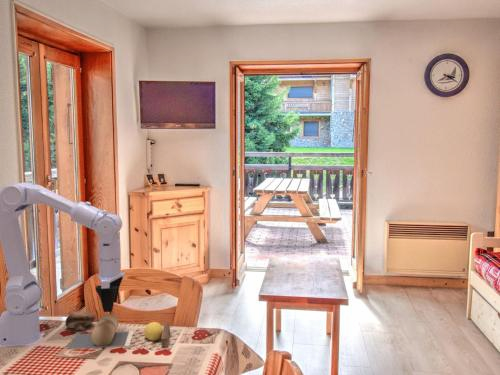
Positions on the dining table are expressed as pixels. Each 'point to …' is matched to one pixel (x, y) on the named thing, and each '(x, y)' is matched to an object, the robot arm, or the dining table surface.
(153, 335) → the ball
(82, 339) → the grey board
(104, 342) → the roller
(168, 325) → the end rail
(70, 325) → the mushroom
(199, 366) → the dining table surface
